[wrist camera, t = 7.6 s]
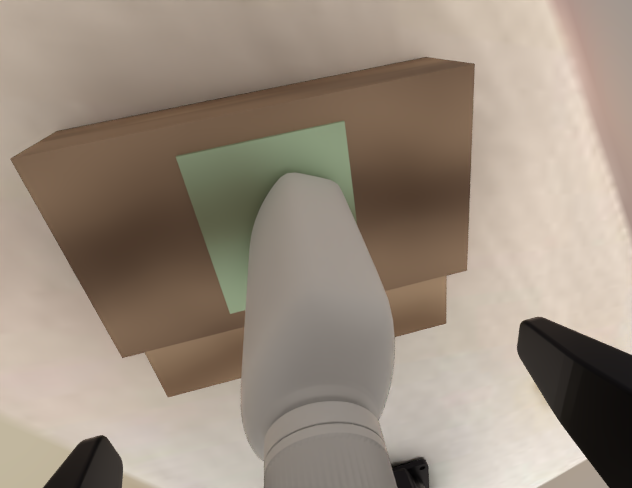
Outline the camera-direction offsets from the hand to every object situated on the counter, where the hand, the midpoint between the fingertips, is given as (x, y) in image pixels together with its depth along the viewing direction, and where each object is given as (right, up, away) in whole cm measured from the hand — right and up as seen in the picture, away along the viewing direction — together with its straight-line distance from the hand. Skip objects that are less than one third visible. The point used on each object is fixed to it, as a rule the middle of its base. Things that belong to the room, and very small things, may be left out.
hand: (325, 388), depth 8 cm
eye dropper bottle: (-1, +3, +7) cm, 8 cm away
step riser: (-2, +4, +12) cm, 13 cm away
